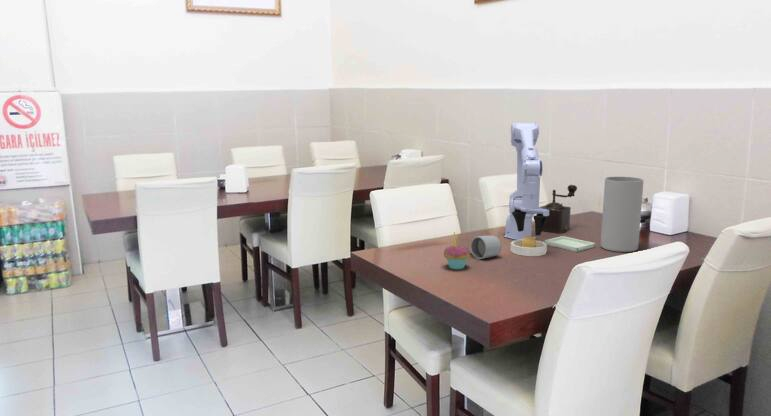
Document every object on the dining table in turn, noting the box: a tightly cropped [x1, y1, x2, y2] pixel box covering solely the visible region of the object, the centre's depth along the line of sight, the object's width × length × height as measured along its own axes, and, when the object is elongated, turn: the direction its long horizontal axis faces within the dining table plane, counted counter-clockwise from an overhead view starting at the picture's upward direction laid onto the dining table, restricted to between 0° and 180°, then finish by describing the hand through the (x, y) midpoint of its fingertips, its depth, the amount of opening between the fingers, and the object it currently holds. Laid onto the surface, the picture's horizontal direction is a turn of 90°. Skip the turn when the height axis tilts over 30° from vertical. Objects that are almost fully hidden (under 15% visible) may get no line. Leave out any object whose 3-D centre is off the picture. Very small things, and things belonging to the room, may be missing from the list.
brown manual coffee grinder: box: [536, 184, 578, 235], centre depth 236 cm, size 16×11×18 cm
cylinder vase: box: [600, 176, 644, 253], centre depth 205 cm, size 12×12×25 cm
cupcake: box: [443, 231, 471, 270], centre depth 184 cm, size 9×8×12 cm
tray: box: [543, 235, 596, 253], centre depth 211 cm, size 14×11×2 cm
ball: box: [522, 235, 536, 248], centre depth 203 cm, size 5×5×5 cm
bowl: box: [509, 239, 548, 257], centre depth 203 cm, size 12×12×3 cm
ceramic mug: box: [469, 235, 502, 260], centre depth 197 cm, size 11×8×8 cm
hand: (529, 233), depth 202 cm, fingers open, 7 cm apart
